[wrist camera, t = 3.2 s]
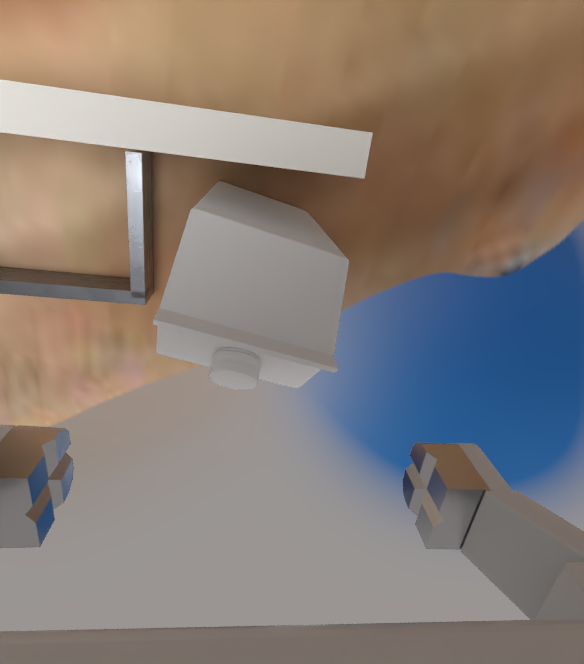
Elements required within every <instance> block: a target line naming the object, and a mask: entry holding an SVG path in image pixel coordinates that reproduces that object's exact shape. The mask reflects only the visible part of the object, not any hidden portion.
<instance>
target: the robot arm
mask: <svg viewBox="0 0 584 664" xmlns="http://www.w3.org/2000/svg"><path fill="white" fill-rule="evenodd" d="M70 444H71V442H70V436H69V431H68V430H66V429H65V428H52V427H36V426H20V425H18V426H15V425H0V548H19V547H20V548H23V547H40V546H41V544H42V542H43V541H44V539H45V537H46V535H47V533H48V531H49V529H50V528H51V525H52V524H53V522H54V520H55V518H54V511H53V510H54V509H55V508H57V507H58V506H59V505H61V504H62V503H64V501H65V499H66V497H67V495H68V493H69V491H70V487H71V483H72V480H73V469H74V467H73V459H72V458H71V457H70V456H69V455H68V454H67V453H66V450H67V449H68V447H69V445H70ZM410 456H411V459H412V461H413V463H412V464H411V465H410V466H409V467H408V468H407V469H406V470H405V474H404V478H403V493H404V498H405V501H406V504H407V506H408V508H409V509H410V510H411V511H412V512H413V513H415V514H416V515H417V516H418V517H417V520H416V523H415V525H416V526H417V529H418V531H419V534H420V536H421V538H422V540H423V542H424V545H425V547H426V548H427V549H456V550H461V552H462V553H463V554H464V555H465V556H466V557H467V558H468V559H469V560H470V561H471V562H472V563H473V564H474V565H475V566H476V567H478V569H479V570H480V571H481V572H482V573H483V574H484V575H485V576H486V577H487V578H488V579H489V580H491V581H492V583H494V584H495V585H496V586H497V587H498V588H499V589H500V590H501V591H502V592H503V593H504V594H505V595H506V596H507V597H508V598H509V599H510V600H511V601H512V602H513V603H514V604H515V605H516V606H517V607H518V608H519V609H520V610H521V611H522V612H523V613H524V614H525V615H526V616H527V617H528V618H530V620H511V621H462V622H418V623H375V624H374V623H373V624H328V625H283V626H282V625H281V626H234V627H186V628H141V629H140V628H139V629H97V630H95V629H93V630H48V631H47V630H46V631H3V632H2V631H1V632H0V664H584V531H582V530H580V529H579V528H577V527H575V526H574V525H572V524H570V523H569V522H567V521H566V520H564V519H563V518H561V517H559V516H558V515H556V514H554V513H553V512H551V511H550V510H548V509H546V508H545V507H543V506H542V505H540V504H538V503H537V502H535V501H533V500H532V499H530V498H529V497H527V496H525V495H524V494H522V493H520V492H519V491H512V490H511V488H510V487H509V486H508V484H507V483H506V482H505V480H504V479H503V478H502V477H501V475H500V474H499V473H498V471H497V470H496V469H495V467H494V466H493V465H492V463H491V462H490V461H489V460H488V458H487V457H486V456H485V454H484V453H483V452H482V450H481V449H480V448H479V447H478V446H477V445H475V444H473V443H454V444H447V443H418V442H417V443H415V444H414V446H413V447H412V450H411V453H410Z"/></svg>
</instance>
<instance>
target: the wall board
mask: <svg viewBox="0 0 584 664" xmlns="http://www.w3.org/2000/svg"><path fill="white" fill-rule="evenodd" d="M0 132H3V133H11V134H18V135H26V136H34V137H42V138H50V139H58V140H65V141H73V142H81V143H89V144H97V145H105V146H113V147H120V148H128V149H136V150H144V151H152V152H160V153H167V154H175V155H183V156H191V157H199V158H207V159H214V160H222V161H230V162H238V163H246V164H254V165H261V166H269V167H277V168H285V169H293V170H301V171H309V172H316V173H324V174H332V175H340V176H348V177H356V178H363V179H364V178H365V173H366V167H367V162H368V156H369V151H370V145H371V140H372V134H373V133H371V132H364V131H357V130H350V129H343V128H336V127H329V126H322V125H315V124H308V123H301V122H294V121H287V120H280V119H273V118H266V117H259V116H252V115H245V114H238V113H231V112H224V111H217V110H210V109H203V108H196V107H189V106H182V105H175V104H168V103H161V102H154V101H147V100H140V99H133V98H126V97H119V96H112V95H105V94H98V93H91V92H85V91H78V90H71V89H64V88H57V87H50V86H43V85H36V84H29V83H22V82H15V81H8V80H1V79H0Z"/></svg>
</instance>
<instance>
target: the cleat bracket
mask: <svg viewBox="0 0 584 664" xmlns="http://www.w3.org/2000/svg"><path fill="white" fill-rule="evenodd" d="M125 155H126V181H127V206H128V231H129V256H130V278H122V277H111V276H99V275H88V274H76V273H65V272H54V271H42V270H31V269H19V268H8V267H0V293H2V294H14V295H27V296H39V297H52V298H64V299H77V300H89V301H102V302H115V303H127V304H140V305H146V303H147V302H148V300H149V299H150V297H151V296H152V294H153V293H154V262H153V199H152V153H151V152H143V151H125Z"/></svg>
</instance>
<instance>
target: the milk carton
mask: <svg viewBox="0 0 584 664" xmlns="http://www.w3.org/2000/svg"><path fill="white" fill-rule="evenodd" d="M348 267H349V260H348V259H347V258H346V257H345V255H344V254H343V253H342V252H341V251H340V249H339V248H338V247H337V246H336V245H335V244H334V242H333V241H332V240H331V239H330V238H329V237H328V235H327V234H326V233H325V232H324V231H323V229H322V228H321V227H320V226H319V225H318V224H317V222H316V221H315V220H314V219H313V218H312V217H311V215H310V214H309V213H308V212H307V211H305V210H303V209H300V208H297V207H294V206H291V205H289V204H286V203H283V202H280V201H277V200H274V199H271V198H268V197H266V196H263V195H260V194H257V193H254V192H251V191H248V190H246V189H243V188H240V187H237V186H234V185H231V184H228V183H225V182H222V181H218V182H217V183H216V184H215V185H214V186H213V187H212V188H211V189H210V190H209V191H208V192H207V194H206V195H205V196H204V197H203V198H202V199H201V200H200V201H199V202H198V203H197V204H196V205H195V206H194V207H193V208H191V210H190V213H189V216H188V220H187V223H186V226H185V229H184V232H183V235H182V238H181V242H180V245H179V248H178V251H177V254H176V257H175V260H174V263H173V267H172V270H171V273H170V276H169V279H168V282H167V285H166V288H165V292H164V295H163V298H162V301H161V304H160V307H159V310H158V312H157V313H156V315H155V317H154V319H153V322H152V323H153V324H154V325H155V326H157V348H156V353H158V354H161V355H164V356H168V357H172V358H176V359H180V360H183V361H187V362H191V363H196V364H200V365H204V366H208V367H210V371H209V378H210V379H211V381H213V382H214V383H216V384H218V385H221V386H224V387H227V388H231V389H237V390H249V389H253V388H255V387H256V386H257V383H258V379H260V380H264V381H268V382H272V383H276V384H280V385H285V386H289V387H294V388H299V387H301V386H302V385H303V384H304V383H305V382H307V381H308V380H309V379H310V378H311V377H312V376H314V375H315V374H316V373H317V372H318V371H320V370H321V369H322V370H326V371H330V372H337V370H338V367H337V364H336V362H335V359H334V351H335V345H336V339H337V333H338V327H339V321H340V315H341V309H342V303H343V297H344V291H345V285H346V279H347V273H348Z"/></svg>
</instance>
